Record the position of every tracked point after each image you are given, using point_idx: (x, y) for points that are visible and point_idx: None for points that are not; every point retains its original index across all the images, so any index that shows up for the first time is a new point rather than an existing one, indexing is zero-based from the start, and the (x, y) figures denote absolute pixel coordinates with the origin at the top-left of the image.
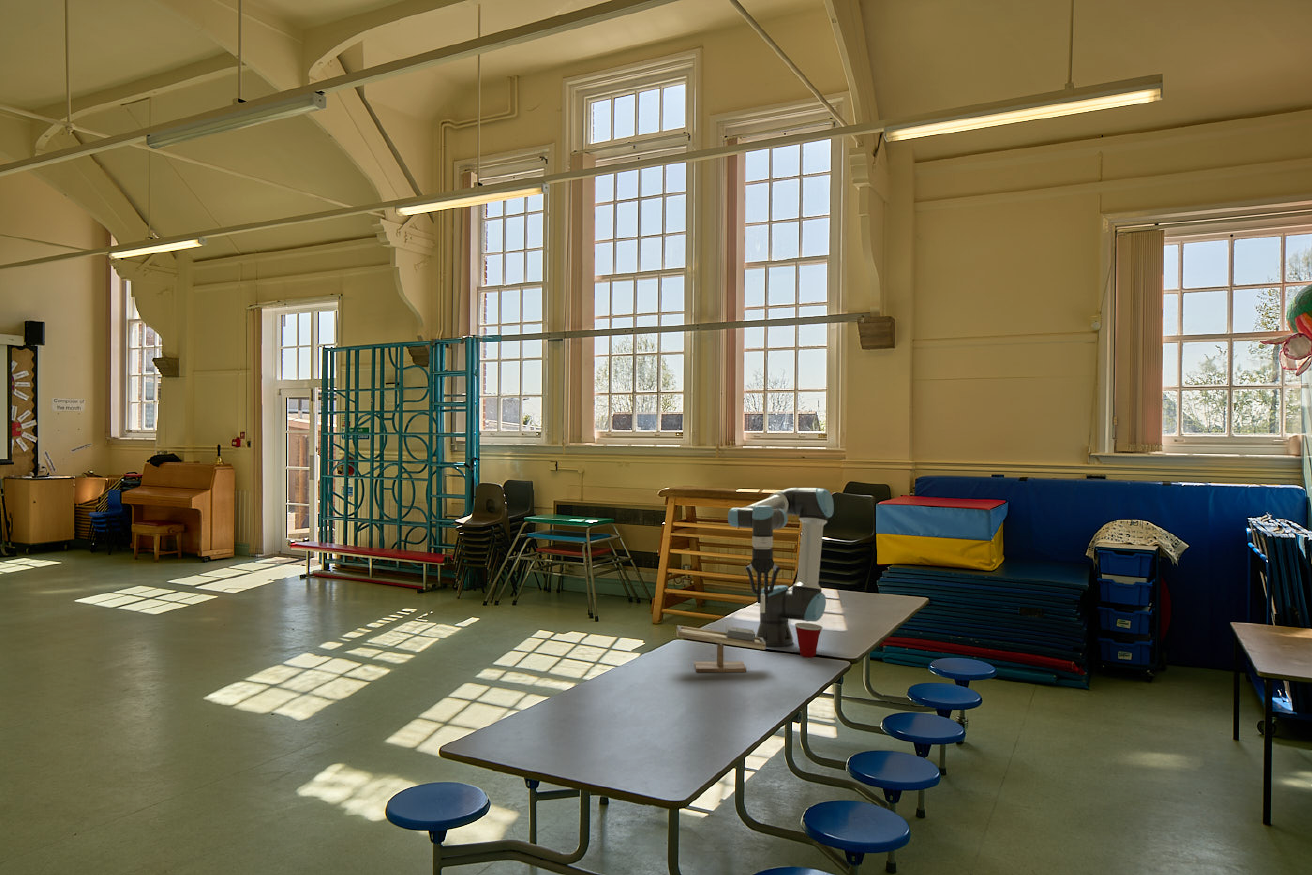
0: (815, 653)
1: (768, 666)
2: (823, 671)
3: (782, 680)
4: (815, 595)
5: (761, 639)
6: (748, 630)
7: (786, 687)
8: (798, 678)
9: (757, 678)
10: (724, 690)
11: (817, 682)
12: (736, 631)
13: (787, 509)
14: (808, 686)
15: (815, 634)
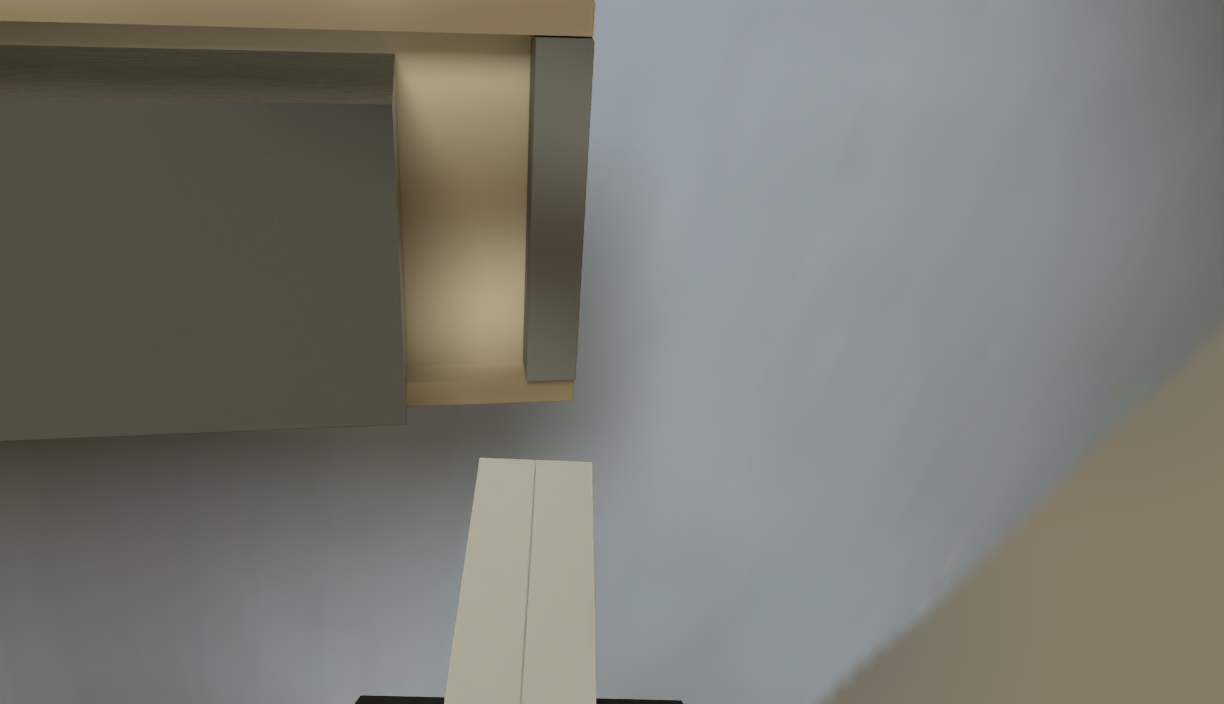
0: None
1: (651, 23)
2: (1171, 271)
3: (664, 509)
4: None
5: (544, 199)
6: (288, 231)
7: (646, 661)
8: (824, 466)
9: (452, 445)
10: (164, 695)
11: (936, 570)
12: (57, 435)
13: None
14: (821, 649)
15: None
